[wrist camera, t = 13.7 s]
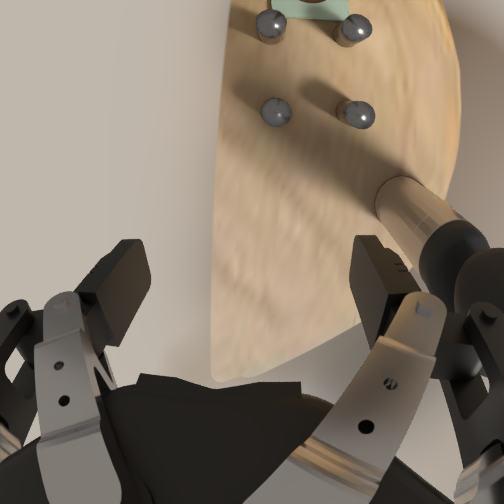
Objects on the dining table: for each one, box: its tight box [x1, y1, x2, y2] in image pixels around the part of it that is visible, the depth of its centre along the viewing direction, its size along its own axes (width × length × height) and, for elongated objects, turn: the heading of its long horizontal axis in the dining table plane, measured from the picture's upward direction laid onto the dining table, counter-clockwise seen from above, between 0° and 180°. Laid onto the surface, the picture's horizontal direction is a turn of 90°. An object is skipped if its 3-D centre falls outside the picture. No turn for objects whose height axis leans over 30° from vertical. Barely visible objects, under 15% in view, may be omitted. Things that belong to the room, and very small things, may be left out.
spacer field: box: [256, 9, 375, 129], centre depth 32 cm, size 14×16×7 cm
